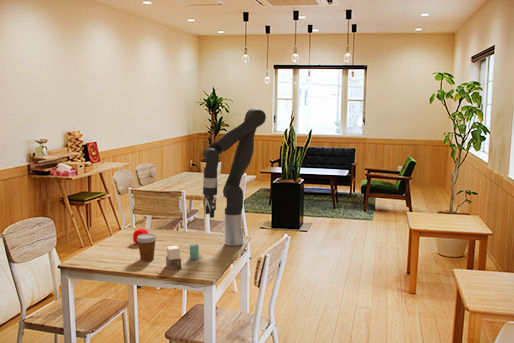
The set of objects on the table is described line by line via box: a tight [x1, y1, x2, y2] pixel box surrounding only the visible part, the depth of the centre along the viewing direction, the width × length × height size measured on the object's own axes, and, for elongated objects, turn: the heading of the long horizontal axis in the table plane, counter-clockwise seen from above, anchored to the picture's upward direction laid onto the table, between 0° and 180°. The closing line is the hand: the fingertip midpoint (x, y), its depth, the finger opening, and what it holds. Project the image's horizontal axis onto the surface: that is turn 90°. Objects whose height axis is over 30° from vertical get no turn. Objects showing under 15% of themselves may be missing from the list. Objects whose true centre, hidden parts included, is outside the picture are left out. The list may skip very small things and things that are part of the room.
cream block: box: [166, 245, 181, 260], centre depth 241 cm, size 5×5×5 cm
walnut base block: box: [165, 255, 182, 271], centre depth 241 cm, size 6×6×5 cm
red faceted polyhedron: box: [132, 228, 150, 245], centre depth 278 cm, size 8×8×8 cm
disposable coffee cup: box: [137, 233, 157, 262], centre depth 252 cm, size 10×10×12 cm
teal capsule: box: [189, 243, 200, 261], centre depth 253 cm, size 4×4×7 cm
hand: (209, 215), depth 270 cm, fingers open, 8 cm apart
